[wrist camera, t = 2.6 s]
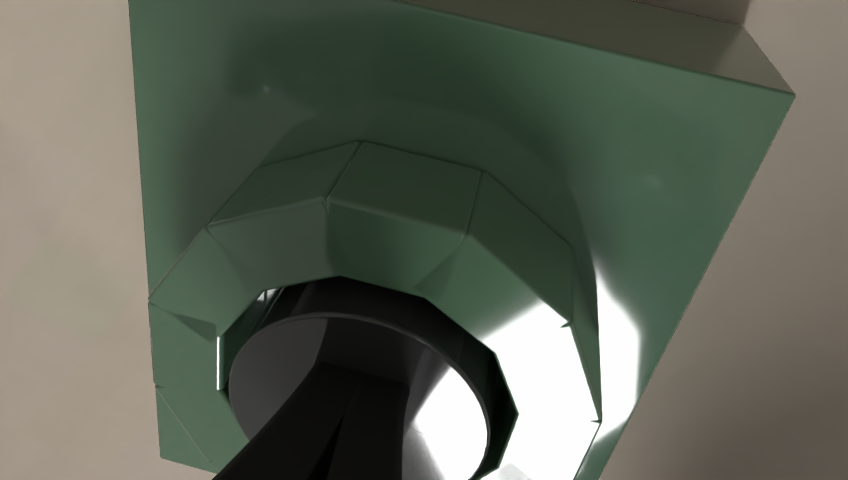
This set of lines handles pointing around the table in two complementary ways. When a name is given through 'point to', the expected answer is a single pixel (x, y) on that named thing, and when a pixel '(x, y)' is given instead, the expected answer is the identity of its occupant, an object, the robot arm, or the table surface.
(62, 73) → the table surface
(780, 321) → the table surface
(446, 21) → the green button base
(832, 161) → the table surface
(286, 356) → the black push button
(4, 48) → the table surface
